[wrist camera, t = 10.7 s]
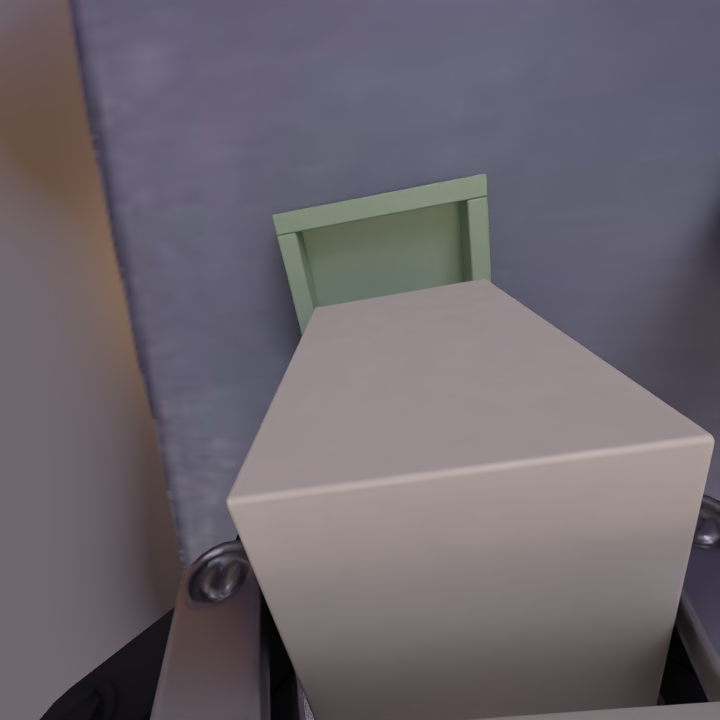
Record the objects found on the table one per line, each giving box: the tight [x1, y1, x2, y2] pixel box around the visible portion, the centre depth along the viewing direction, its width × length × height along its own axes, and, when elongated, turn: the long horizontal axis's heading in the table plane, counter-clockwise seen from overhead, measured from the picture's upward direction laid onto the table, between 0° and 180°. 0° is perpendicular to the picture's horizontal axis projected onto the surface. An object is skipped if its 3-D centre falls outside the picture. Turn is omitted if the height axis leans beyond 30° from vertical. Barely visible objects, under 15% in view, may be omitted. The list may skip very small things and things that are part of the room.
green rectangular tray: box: [272, 174, 491, 335], centre depth 18 cm, size 13×8×2 cm
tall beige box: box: [226, 279, 715, 720], centre depth 8 cm, size 5×8×7 cm, turn 10°
